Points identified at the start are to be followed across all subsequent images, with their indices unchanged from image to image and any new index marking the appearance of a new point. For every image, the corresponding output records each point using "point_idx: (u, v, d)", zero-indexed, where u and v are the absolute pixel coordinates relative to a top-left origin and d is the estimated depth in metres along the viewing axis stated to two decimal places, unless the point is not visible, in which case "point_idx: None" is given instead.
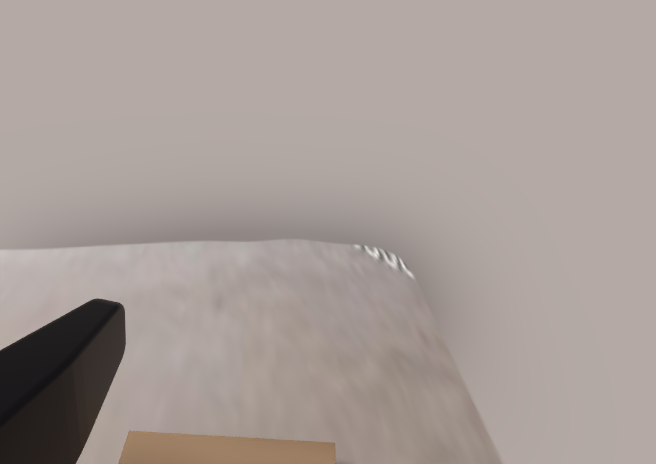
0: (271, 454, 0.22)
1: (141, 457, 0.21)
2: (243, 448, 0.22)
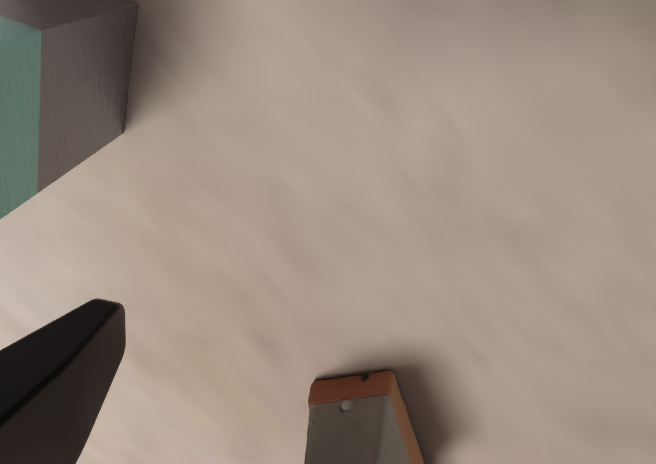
0: None
1: None
2: None
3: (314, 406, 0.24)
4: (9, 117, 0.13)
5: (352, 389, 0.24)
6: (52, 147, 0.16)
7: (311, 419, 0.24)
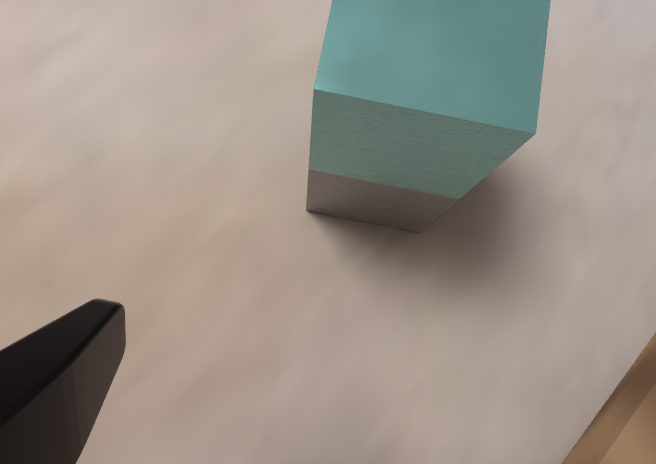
0: None
1: None
2: None
3: None
4: (406, 175, 0.16)
5: None
6: (346, 183, 0.17)
7: None
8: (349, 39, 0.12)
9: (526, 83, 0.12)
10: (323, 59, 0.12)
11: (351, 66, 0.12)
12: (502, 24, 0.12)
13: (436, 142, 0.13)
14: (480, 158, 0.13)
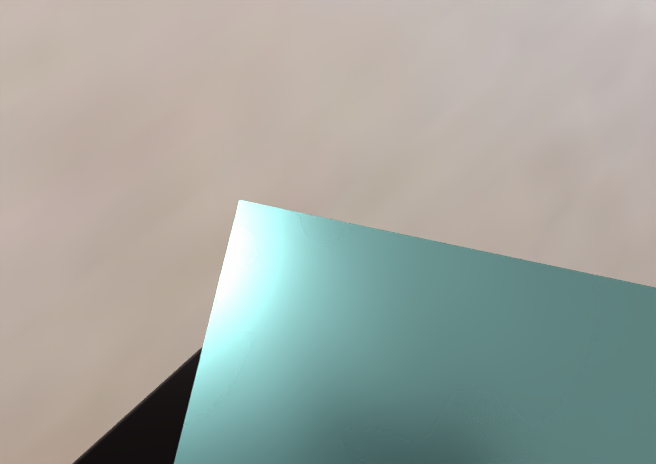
0: None
1: None
2: None
3: None
4: None
5: None
6: None
7: None
8: None
9: None
10: None
11: None
12: None
13: None
14: None
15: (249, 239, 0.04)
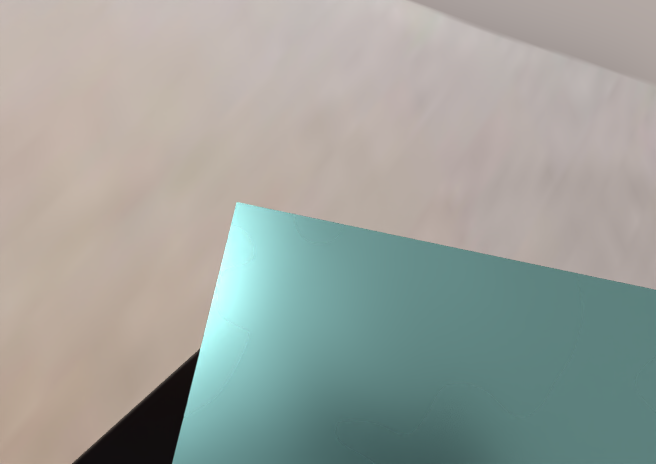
0: None
1: None
2: None
3: None
4: None
5: None
6: None
7: None
8: None
9: None
10: None
11: None
12: None
13: None
14: None
15: (246, 240, 0.04)
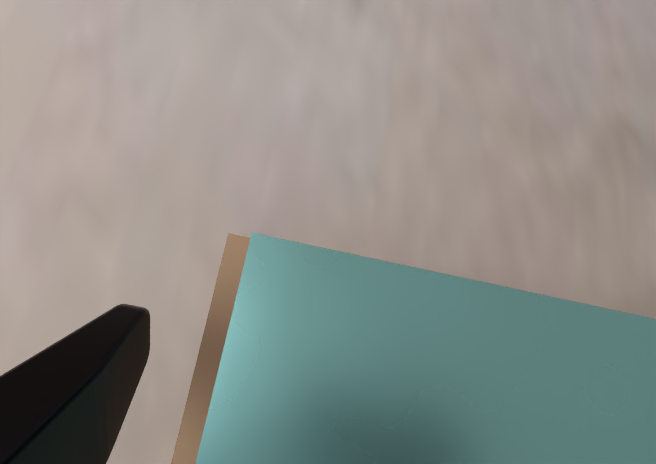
0: None
1: None
2: None
3: None
4: None
5: None
6: None
7: None
8: None
9: None
10: None
11: None
12: None
13: None
14: None
15: (259, 265, 0.05)
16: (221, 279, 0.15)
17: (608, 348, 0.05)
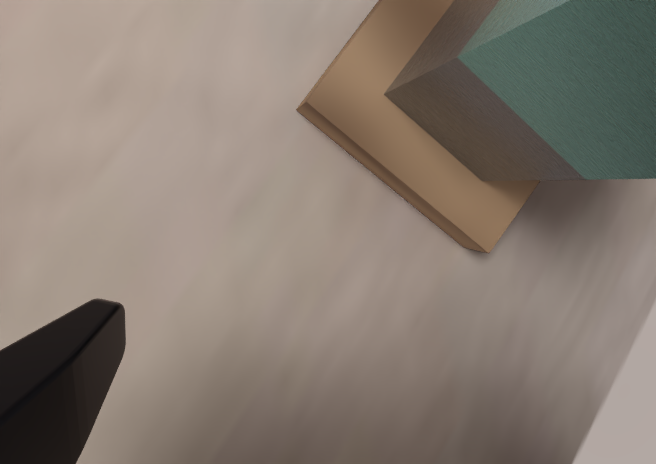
0: None
1: None
2: None
3: None
4: (568, 127, 0.13)
5: None
6: (479, 96, 0.14)
7: None
8: None
9: None
10: None
11: None
12: None
13: None
14: None
15: None
16: None
17: None
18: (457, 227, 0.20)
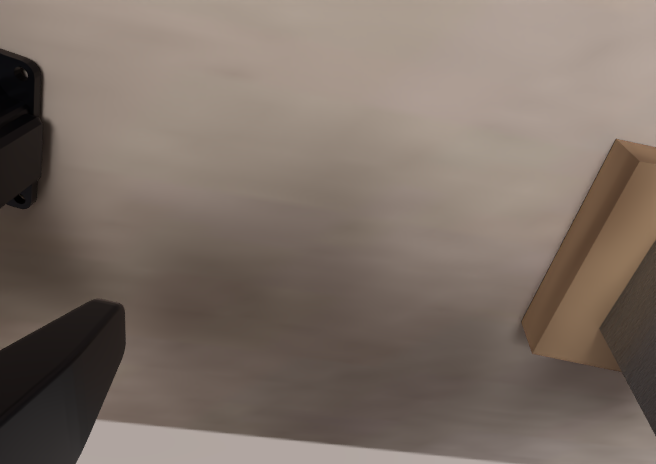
0: None
1: None
2: None
3: None
4: None
5: None
6: None
7: None
8: None
9: None
10: None
11: None
12: None
13: None
14: None
15: None
16: None
17: None
18: (548, 323, 0.21)
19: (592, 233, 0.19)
